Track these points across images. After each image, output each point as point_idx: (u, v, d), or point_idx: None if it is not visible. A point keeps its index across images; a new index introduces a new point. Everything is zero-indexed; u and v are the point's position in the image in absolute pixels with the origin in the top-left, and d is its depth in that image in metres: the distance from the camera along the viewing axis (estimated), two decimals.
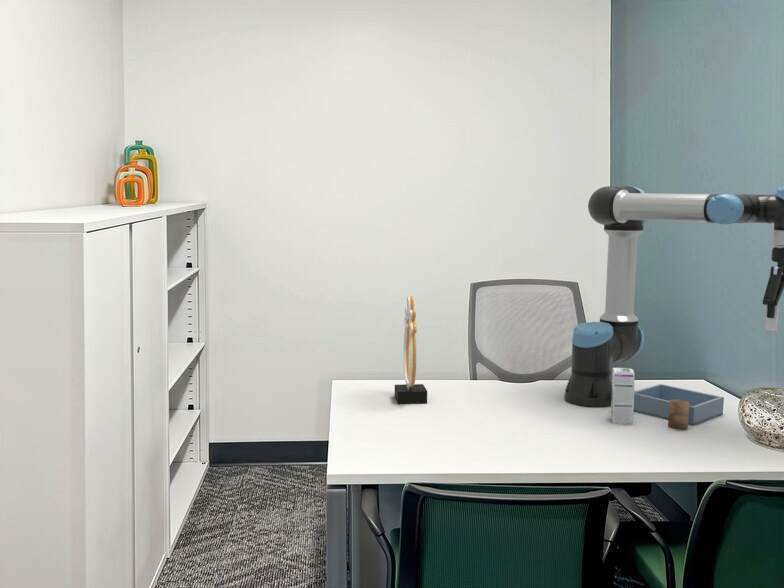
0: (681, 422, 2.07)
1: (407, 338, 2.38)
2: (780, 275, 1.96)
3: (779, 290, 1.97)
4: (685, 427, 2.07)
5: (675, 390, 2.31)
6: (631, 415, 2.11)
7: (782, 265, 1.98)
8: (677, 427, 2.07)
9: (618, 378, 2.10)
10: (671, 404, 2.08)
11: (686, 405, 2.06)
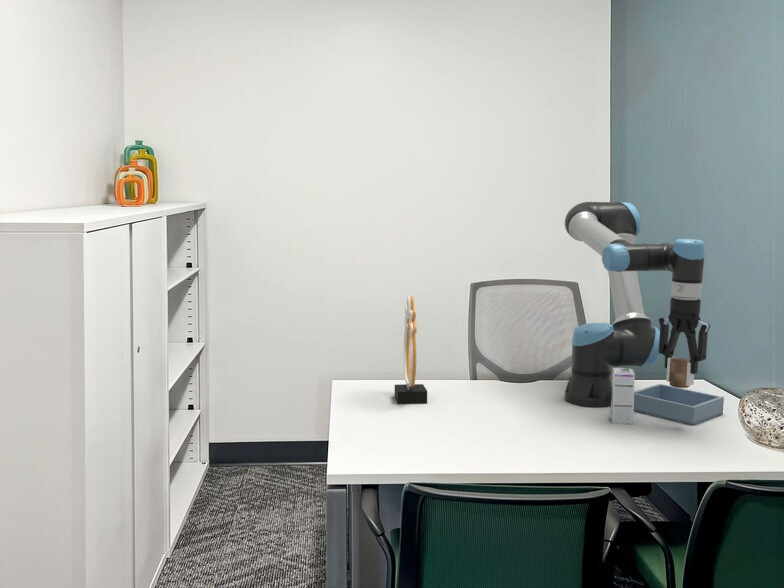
0: (683, 380, 2.05)
1: (407, 338, 2.38)
2: (660, 325, 2.10)
3: None
4: None
5: (675, 390, 2.31)
6: (631, 415, 2.11)
7: None
8: (678, 385, 2.06)
9: (618, 378, 2.10)
10: (673, 362, 2.07)
11: None
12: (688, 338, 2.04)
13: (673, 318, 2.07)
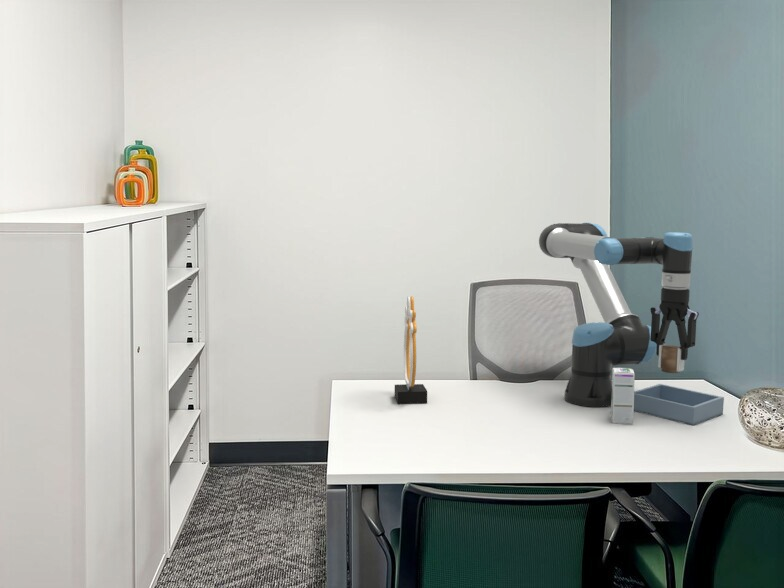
0: (674, 365, 2.17)
1: (407, 338, 2.38)
2: (652, 314, 2.21)
3: None
4: (677, 371, 2.17)
5: (675, 390, 2.31)
6: (631, 415, 2.11)
7: None
8: (670, 370, 2.17)
9: (618, 378, 2.10)
10: (664, 349, 2.18)
11: None
12: (678, 326, 2.15)
13: (664, 307, 2.18)
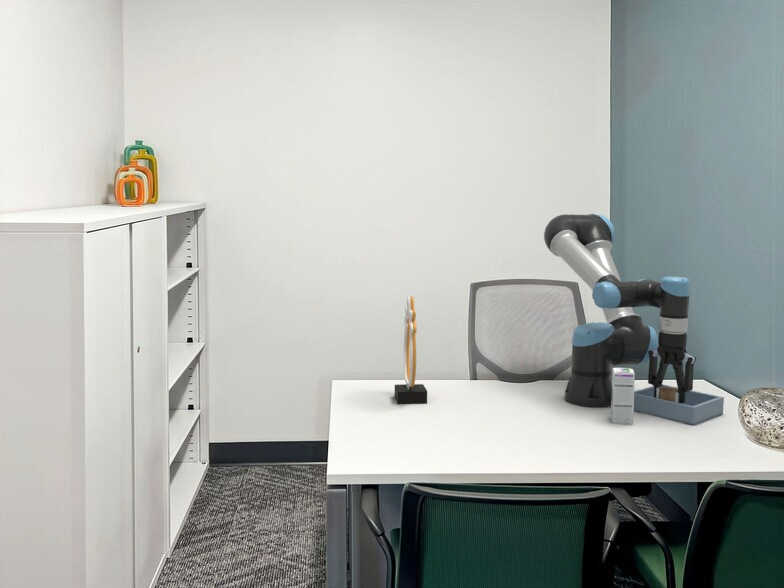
0: None
1: (407, 338, 2.38)
2: (649, 357, 2.23)
3: None
4: None
5: None
6: (631, 415, 2.11)
7: None
8: None
9: (618, 378, 2.10)
10: (662, 391, 2.19)
11: None
12: (675, 370, 2.17)
13: (661, 351, 2.20)
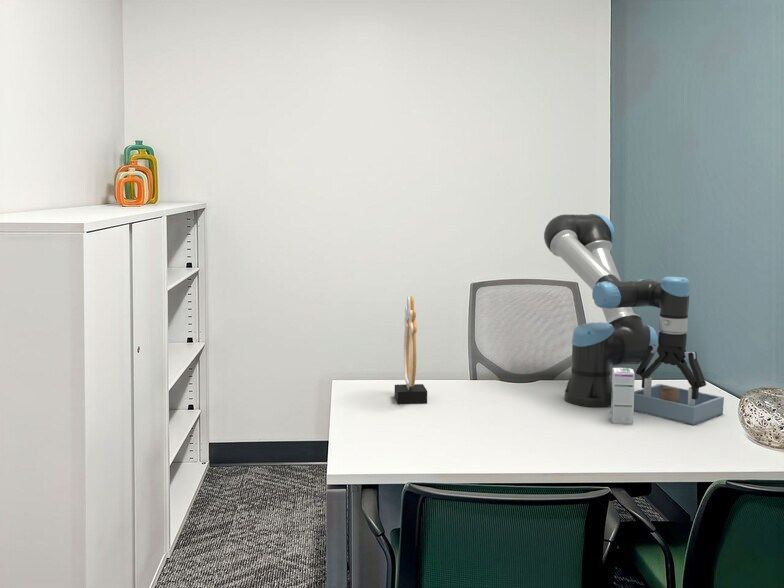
0: None
1: (407, 338, 2.38)
2: (647, 352, 2.23)
3: (650, 366, 2.23)
4: None
5: None
6: (631, 415, 2.11)
7: None
8: None
9: (618, 378, 2.10)
10: (662, 391, 2.19)
11: (676, 392, 2.18)
12: (681, 368, 2.16)
13: (661, 351, 2.20)
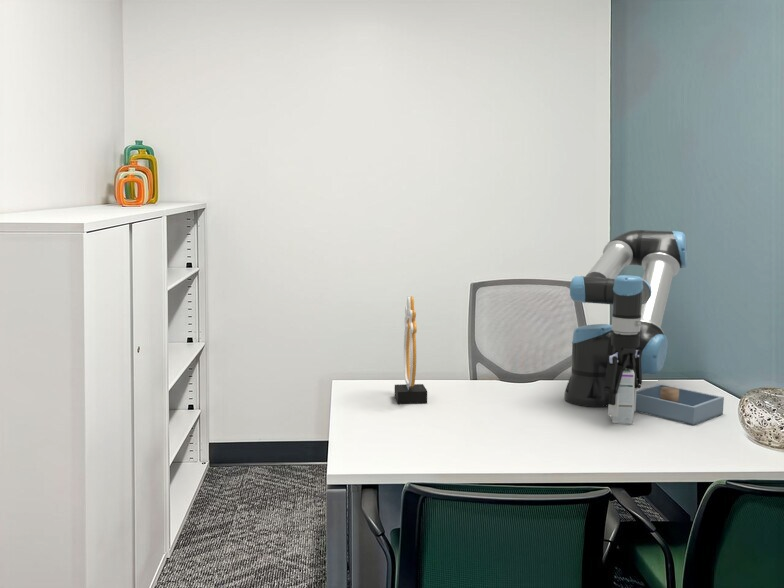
0: None
1: (407, 338, 2.38)
2: (615, 364, 2.07)
3: (617, 378, 2.09)
4: None
5: None
6: (631, 415, 2.11)
7: (617, 351, 2.09)
8: None
9: None
10: (662, 391, 2.19)
11: (676, 392, 2.18)
12: (633, 368, 2.13)
13: (623, 355, 2.10)
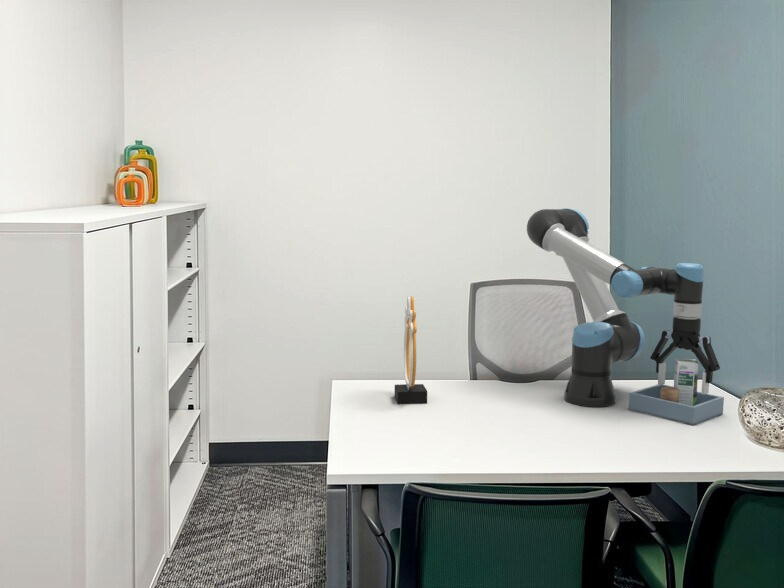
0: None
1: (407, 338, 2.38)
2: (661, 337, 2.28)
3: (664, 351, 2.28)
4: None
5: None
6: None
7: None
8: None
9: (675, 364, 2.26)
10: (662, 391, 2.19)
11: (676, 392, 2.18)
12: (695, 352, 2.20)
13: (675, 337, 2.24)
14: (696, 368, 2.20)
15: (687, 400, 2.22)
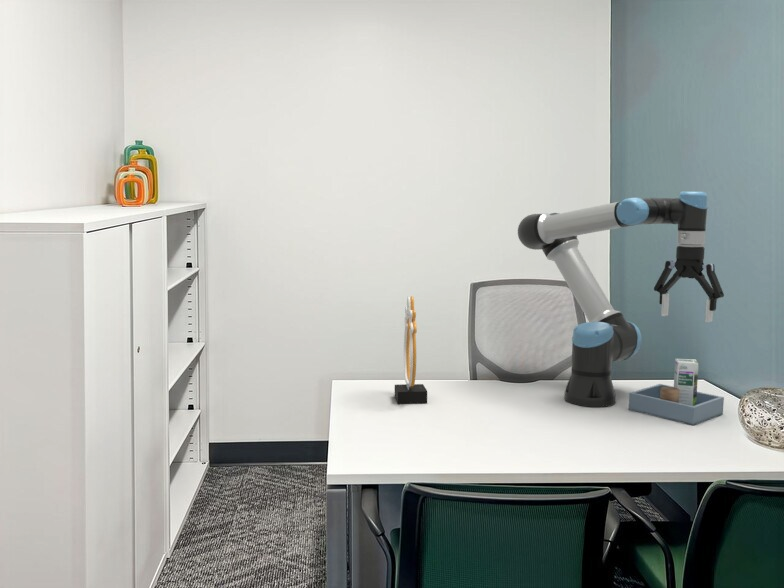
0: None
1: (407, 338, 2.38)
2: (665, 267, 2.27)
3: None
4: None
5: None
6: None
7: None
8: None
9: (675, 364, 2.26)
10: (662, 391, 2.19)
11: (676, 392, 2.18)
12: (699, 280, 2.19)
13: (679, 266, 2.23)
14: (696, 368, 2.20)
15: (687, 400, 2.22)
